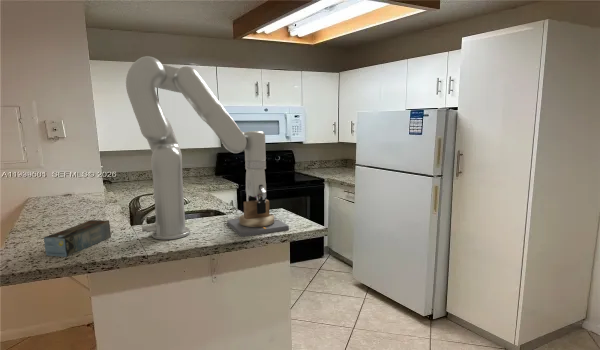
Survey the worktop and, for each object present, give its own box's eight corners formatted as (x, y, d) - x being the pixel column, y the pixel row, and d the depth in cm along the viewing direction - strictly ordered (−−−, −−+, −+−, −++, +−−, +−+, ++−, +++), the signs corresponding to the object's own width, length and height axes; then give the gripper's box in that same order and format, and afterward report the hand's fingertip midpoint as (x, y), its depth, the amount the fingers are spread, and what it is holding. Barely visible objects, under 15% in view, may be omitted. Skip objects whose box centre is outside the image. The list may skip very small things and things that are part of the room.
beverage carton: (43, 256, 107) (41, 234, 106) (92, 236, 125) (91, 218, 124) (66, 258, 105) (64, 236, 104) (112, 237, 124) (111, 219, 123)
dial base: (241, 236, 123) (241, 232, 123) (227, 223, 139) (227, 219, 138) (288, 229, 131) (288, 225, 130) (270, 218, 147) (270, 214, 146)
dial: (245, 228, 126) (245, 206, 125) (235, 220, 137) (234, 199, 136) (279, 224, 132) (279, 202, 130) (266, 216, 143) (266, 196, 142)
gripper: (238, 163, 137) (240, 207, 140) (253, 168, 122) (255, 217, 125) (257, 162, 141) (258, 204, 143) (274, 166, 125) (275, 214, 128)
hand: (257, 210), depth 134 cm, fingers open, 9 cm apart
